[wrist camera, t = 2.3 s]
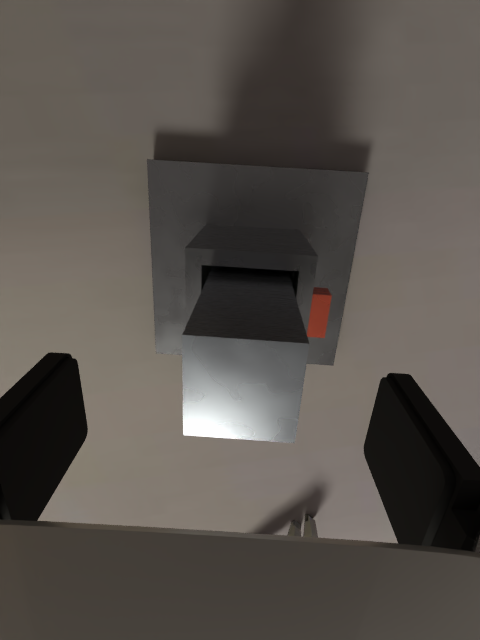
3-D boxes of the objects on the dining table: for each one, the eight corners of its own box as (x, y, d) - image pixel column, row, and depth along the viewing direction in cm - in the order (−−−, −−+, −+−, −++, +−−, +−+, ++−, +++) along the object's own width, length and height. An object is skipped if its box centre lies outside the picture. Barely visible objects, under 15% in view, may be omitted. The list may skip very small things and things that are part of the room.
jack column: (283, 247, 24) (312, 341, 11) (277, 305, 26) (297, 445, 13) (220, 243, 24) (178, 331, 11) (218, 301, 26) (180, 437, 13)
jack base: (362, 172, 24) (418, 175, 15) (329, 356, 29) (358, 430, 21) (153, 159, 24) (98, 156, 16) (160, 344, 30) (123, 413, 21)
